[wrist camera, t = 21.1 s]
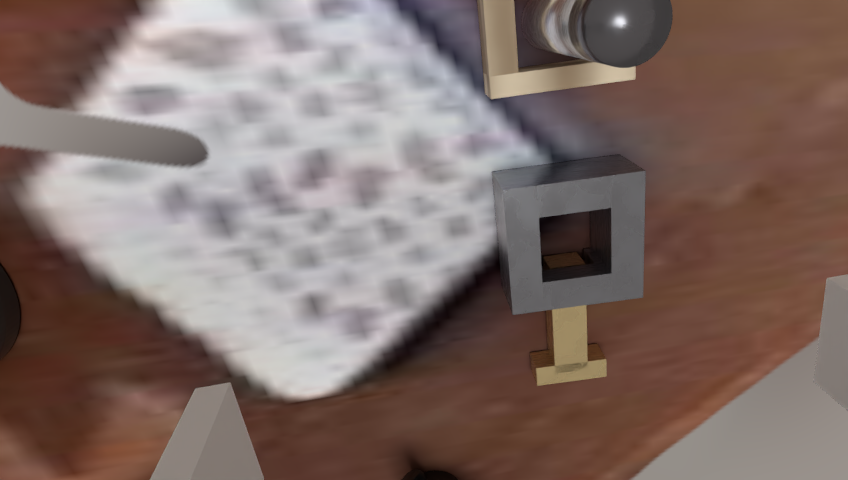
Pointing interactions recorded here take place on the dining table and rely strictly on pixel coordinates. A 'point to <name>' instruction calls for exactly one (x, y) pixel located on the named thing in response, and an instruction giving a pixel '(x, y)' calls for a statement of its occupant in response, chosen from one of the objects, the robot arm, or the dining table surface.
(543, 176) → the socket
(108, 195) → the dining table surface
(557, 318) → the t-shaped block
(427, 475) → the mug
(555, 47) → the round peg
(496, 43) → the rack
